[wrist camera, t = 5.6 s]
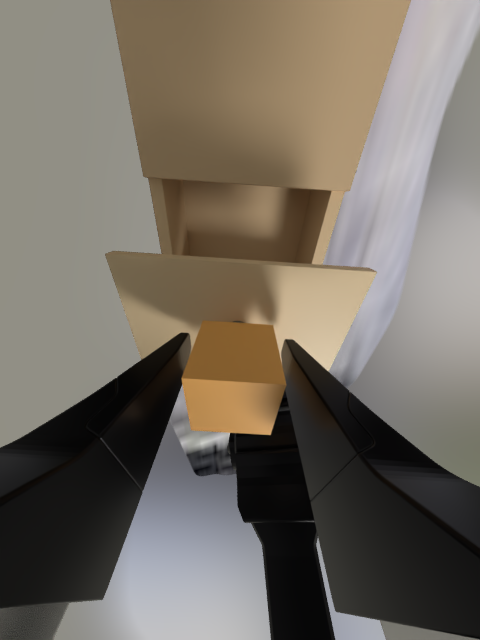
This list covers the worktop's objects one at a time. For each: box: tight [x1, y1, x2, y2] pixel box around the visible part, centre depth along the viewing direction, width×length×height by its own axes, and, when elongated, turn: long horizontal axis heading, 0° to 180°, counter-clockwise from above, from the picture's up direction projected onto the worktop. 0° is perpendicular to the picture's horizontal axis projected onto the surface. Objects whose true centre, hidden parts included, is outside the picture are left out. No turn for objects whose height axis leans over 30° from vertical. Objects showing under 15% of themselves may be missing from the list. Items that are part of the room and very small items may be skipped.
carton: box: [110, 0, 411, 265], centre depth 13 cm, size 15×12×6 cm
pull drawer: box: [105, 251, 377, 435], centre depth 8 cm, size 7×12×5 cm, turn 87°
